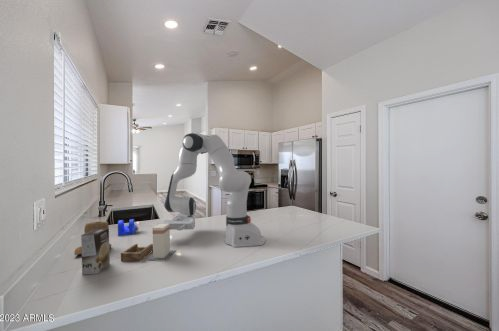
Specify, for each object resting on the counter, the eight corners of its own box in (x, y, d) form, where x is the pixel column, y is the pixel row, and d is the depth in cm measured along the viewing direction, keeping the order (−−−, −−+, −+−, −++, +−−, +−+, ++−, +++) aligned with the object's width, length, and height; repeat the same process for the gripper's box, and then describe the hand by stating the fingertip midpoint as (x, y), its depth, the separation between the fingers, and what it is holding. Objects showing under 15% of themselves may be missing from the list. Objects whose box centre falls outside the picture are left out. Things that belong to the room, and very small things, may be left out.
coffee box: (98, 273, 92) (97, 234, 91) (81, 275, 91) (80, 235, 91) (110, 263, 101) (109, 227, 101) (95, 264, 100) (94, 228, 100)
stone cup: (110, 244, 126) (109, 217, 126) (111, 250, 116) (110, 221, 116) (76, 250, 118) (75, 221, 118) (74, 258, 108) (73, 227, 108)
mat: (175, 251, 114) (175, 250, 114) (166, 260, 103) (166, 259, 103) (158, 251, 114) (158, 250, 114) (147, 260, 103) (147, 259, 103)
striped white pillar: (170, 251, 112) (169, 223, 112) (163, 257, 105) (163, 227, 105) (160, 251, 112) (159, 223, 112) (153, 257, 105) (152, 227, 105)
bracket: (132, 234, 143) (132, 220, 143) (118, 236, 141) (117, 221, 141) (137, 227, 160) (137, 214, 160) (124, 228, 158) (124, 215, 158)
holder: (153, 250, 115) (152, 243, 115) (140, 261, 103) (139, 253, 103) (135, 250, 116) (135, 243, 116) (121, 260, 104) (120, 253, 104)
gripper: (163, 216, 134) (151, 223, 120) (197, 216, 133) (189, 222, 119) (163, 227, 134) (151, 235, 120) (197, 227, 133) (189, 234, 119)
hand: (170, 229), depth 119 cm, fingers open, 8 cm apart
